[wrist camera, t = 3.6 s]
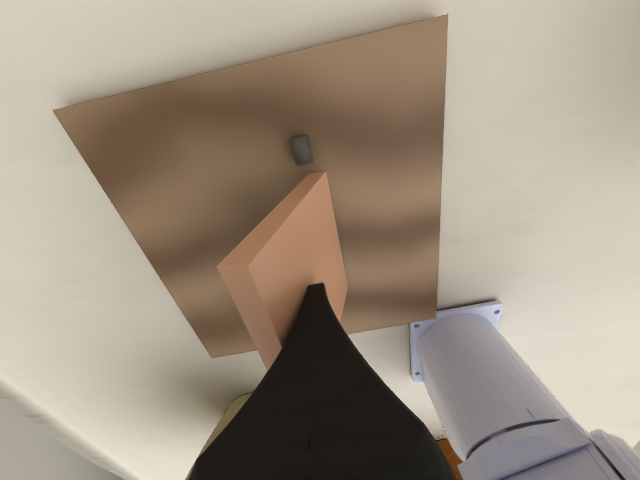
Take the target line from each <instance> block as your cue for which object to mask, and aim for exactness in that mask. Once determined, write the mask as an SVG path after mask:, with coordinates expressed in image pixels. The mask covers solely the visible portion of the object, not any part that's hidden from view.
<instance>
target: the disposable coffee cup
mask: <svg viewBox="0 0 640 480" xmlns="http://www.w3.org/2000/svg"><path fill="white" fill-rule="evenodd" d="M436 442H437V444H438V445H439V447H440V448H441V450H442V452H443V453H444V455H445V457H446V458H447V460H448V462H449V464H450V466H451V468H452V470H453V472H454V474H455V476H456V478H457V480H463V478H462V476H461V473H460V471H459V469H458V465H459V464H461V463H463V461H462V460H461V459H460V458H459V456H458V455H457V454H456V453H455V451H454V450H453V448H452V446H451V444H450V442H449V441H448V439H446V440H440V441H436Z"/></svg>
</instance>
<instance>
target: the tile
mask: <svg viewBox="0 0 640 480" xmlns="http://www.w3.org/2000/svg"><path fill="white" fill-rule="evenodd" d="M216 267H217V269H218V271H219V273H220V275H221V277H222V279H223V281H224V283H225V285H226V287H227V289H228V291H229V293H230V295H231V297H232V299H233V301H234V303H235V305H236V307H237V309H238V311H239V313H240V315H241V317H242V320H243V322H244V324H245V326H246V328H247V330H248V332H249V334H250V336H251V338H252V340H253V342H254V344H255V346H256V348H257V350H258V352H259V354H260V356H261V358H262V360H263V362H264V364H265V366H266V368H267V370H269V369H270V367H271V365H272V364H273V362H274V361H275V359H276V357H277V356H278V354H279V352H280V350H281V349H282V347H283V345H284V343H285V341H286V339H287V337H288V335H289V333H290V331H291V329H292V327H293V325H294V323H295V321H296V318H297V316H298V314H299V311H300V309H301V306H302V304H303V301H304V298H305V295H306V292H307V287H308V286H309V285H312V284H317V283H324V284H325V289H326V293H327V297H328V300H329V303H330V305H331V307H332V309H333V311H334V313H335V315H336V317H337V319H338V321H339V322H340V321H341V316H342V312H343V307H344V303H345V299H346V294H347V290H348V286H347V280H346V275H345V270H344V264H343V259H342V253H341V248H340V243H339V237H338V232H337V227H336V221H335V216H334V211H333V205H332V200H331V194H330V189H329V184H328V178H327V173H326V171H321V172H314V173H309V174H308V175H307V176H306V177H305V178H304V179H303V180H302V181H301V182H300V183H299V184H298V185H297V186H296V187H295V188H294V189H293V190H292V191H291V192H290V193H289V194H288V195H287V196H286V197H285V198H284V199H283V200H282V201H281V202H280V203H279V204H278V205H277V206H276V207H275V208H274V209H273V210H272V211H271V212H270V213H269V214H268V215H267V216H266V217H265V218H264V219H263V220H262V221H261V222H260V223H259V224H258V225H257V226H256V227H255V228H254V229H253V230H252V231H251V232H250V233H249V234H248V235H247V236H246V237H245V238H244V239H243V240H242V241H241V242H240V243H239V244H238V245H237V246H236V247H235V248H234V249H233V250H232V251H231V252H230V253H229V254H228V255H227V256H226V257H225V258H224V259H223V260H222V261H221V262H220V263H219V264H218V265H217V266H216Z"/></svg>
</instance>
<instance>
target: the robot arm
mask: <svg viewBox="0 0 640 480" xmlns="http://www.w3.org/2000/svg"><path fill="white" fill-rule="evenodd" d="M502 311H503V304H502V303H501V302H500V301H492V302H486V303H480V304H475V305H469V306H464V307H458V308H452V309H447V310H441V311H436V319H431V320H425V321H420V322H414V323H410V346H411V375H412V379H413V381H414V382H420V381H423V382H424V384H425V387H426V389H427V391H428V394H429V396H430V398H431V401H432V403H433V405H434V408H435V410H436V412H437V415H438V417H439V419H440V422H441V424H442V427H443V429H444V431H445V434H446V436H447V438H448V441H449V442H450V444H451V446H452V448H453V450H454V451H455V453H456V454H457V455H458V456H459V458H460V459H461V460H462V461H463V463H461V464H459V465H458V469H459V471H460V473H461V476H462V478H463V480H640V455H639V454H637V452H636V451H635V450H634V449H633V448H632V447H631V446H629V445H628V444H627V443H626V442H625V441H624V440H623V439H622V438H620V437H617V436H614V435H612V434H607V433H606V432H604V431H603V430H601V429H596V430H594V431H592V432H590V433H588V432H587V431H586V430H585V429H584V428H582V427H581V426H580V425H579V424H578V423H577V422H576V421H575V420H574V419H573V417H572V416H571V415H570V414H569V413H568V412H567V410H566V409H565V408H564V407H563V406H562V405H561V403H560V402H559V401H558V400H557V399H556V398H555V397H554V395H553V394H552V393H551V392H550V391H549V390H548V388H547V387H546V386H545V385H544V384H543V383H542V381H541V380H540V379H539V378H538V377H537V376H536V374H535V373H534V372H533V371H532V370H531V369H530V367H529V366H528V365H527V364H526V363H525V362H524V360H523V359H522V358H521V357H520V356H519V355H518V354H517V352H516V351H515V350H514V349H513V348H512V347H511V345H510V344H509V343H508V342H507V341H506V340H505V338H504V337H503V336H502V335H501V334H500V333H499V331H498V329H499V325H500V320H501V315H502ZM415 324H416V325H415ZM188 480H457V478H456V476H455V474H454V472H453V470H452V468H451V466H450V464H449V462H448V460H447V458H446V457H445V455H444V453H443V452H442V450H441V448H440V447H439V445H438V444H437V442H436V441H435V439H434V438H433V436H432V435H431V433H430V432H429V430H428V429H427V427H426V426H425V424H424V423H423V422H422V421H421V420H420V419H419V418H418V417H417V416H416V415H415V414H414V413H413V412H412V411H411V410H410V409H409V408H408V407H407V406H406V405H405V404H404V403H403V402H402V401H401V400H400V399H399V398H398V397H397V396H396V395H395V394H394V393H393V392H392V391H391V389H390V388H389V387H388V386H387V385H386V384H385V383H384V382H383V381H382V379H381V378H380V377H379V376H378V375H377V374H376V372H375V371H374V370H373V369H372V368H371V367H370V365H369V364H368V363H367V362H366V360H365V359H364V358H363V356H362V355H361V354H360V353H359V351H358V350H357V348H356V347H355V346H354V344H353V343H352V341H351V340H350V338H349V337H348V335H347V334H346V332H345V331H344V329H343V327H342V326H341V324H340V322H339V321H338V319H337V317H336V315H335V313H334V311H333V309H332V307H331V305H330V303H329V300H328V297H327V293H326V289H325V284H324V283H317V284H312V285H309V286H308V287H307V292H306V295H305V298H304V301H303V304H302V306H301V309H300V311H299V314H298V316H297V318H296V321H295V323H294V325H293V327H292V329H291V331H290V333H289V335H288V337H287V339H286V341H285V343H284V345H283V347H282V349H281V350H280V352H279V354H278V356H277V357H276V359H275V361H274V362H273V364H272V365H271V367H270V369H269V370H268V372H267V373H266V375H265V376H264V378H263V379H262V381H261V382H260V383H259V385H258V386H257V388H256V389H255V390H254V392H253V393H252V394H251V396H250V397H249V398H248V400H247V401H246V402H245V403H244V405H243V406H242V407H241V409H240V410H239V411H238V412H237V414H236V415H235V416H234V417H233V419H232V420H231V421H230V422H229V423H228V425H227V426H226V427H225V428H224V429H223V430H222V432H221V433H220V434H219V435H218V436H217V437H216V438H215V439H214V441H213V442H212V443H211V444H210V445H209V446H208V447H207V448H206V450H205V451H204V452H203V453H202V454H201V455H200V456H199V457H198V458H197V459H196V462H195V465H194V467H193V470H192V472H191V474H190V477H189V479H188Z"/></svg>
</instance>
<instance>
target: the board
mask: <svg viewBox="0 0 640 480" xmlns="http://www.w3.org/2000/svg"><path fill="white" fill-rule="evenodd" d="M447 28H448V14H447V15H442V16H438V17H434V18H430V19H426V20H422V21H418V22H414V23H410V24H405V25H401V26H397V27H393V28H389V29H385V30H381V31H377V32H373V33H368V34H364V35H360V36H356V37H352V38H348V39H344V40H340V41H335V42H331V43H327V44H323V45H319V46H315V47H311V48H307V49H303V50H298V51H294V52H290V53H286V54H282V55H278V56H274V57H270V58H266V59H261V60H257V61H253V62H249V63H245V64H241V65H237V66H233V67H229V68H224V69H220V70H216V71H212V72H208V73H204V74H200V75H196V76H191V77H187V78H183V79H179V80H175V81H171V82H167V83H163V84H159V85H154V86H150V87H146V88H142V89H138V90H134V91H130V92H126V93H122V94H117V95H113V96H109V97H105V98H101V99H97V100H93V101H89V102H85V103H80V104H76V105H72V106H68V107H64V108H60V109H56V110H53V112H54V114H55V115H56V117H57V118H58V120H59V121H60V123H61V124H62V126H63V128H64V129H65V131H66V132H67V134H68V135H69V137H70V138H71V140H72V142H73V143H74V145H75V146H76V148H77V149H78V151H79V152H80V154H81V156H82V157H83V159H84V160H85V162H86V163H87V165H88V166H89V168H90V170H91V171H92V173H93V174H94V176H95V177H96V179H97V180H98V182H99V184H100V185H101V187H102V188H103V190H104V191H105V193H106V194H107V196H108V198H109V199H110V201H111V202H112V204H113V205H114V207H115V208H116V210H117V212H118V213H119V215H120V216H121V218H122V219H123V221H124V222H125V224H126V226H127V227H128V229H129V230H130V232H131V233H132V235H133V236H134V238H135V240H136V241H137V243H138V244H139V246H140V247H141V249H142V250H143V252H144V253H145V255H146V257H147V258H148V260H149V261H150V263H151V264H152V266H153V267H154V269H155V271H156V272H157V274H158V275H159V277H160V278H161V280H162V281H163V283H164V285H165V286H166V288H167V289H168V291H169V292H170V294H171V295H172V297H173V299H174V300H175V302H176V303H177V305H178V306H179V308H180V309H181V311H182V313H183V314H184V316H185V317H186V319H187V320H188V322H189V323H190V325H191V327H192V328H193V330H194V331H195V333H196V334H197V336H198V337H199V339H200V341H201V342H202V344H203V345H204V347H205V348H206V350H207V351H208V353H209V355H210V356H211V358H216V357H221V356H227V355H233V354H238V353H244V352H250V351H255V350H257V348H256V346H255V344H254V342H253V340H252V338H251V336H250V334H249V332H248V330H247V328H246V326H245V324H244V322H243V320H242V317H241V315H240V313H239V311H238V309H237V307H236V305H235V303H234V301H233V299H232V297H231V295H230V293H229V291H228V289H227V287H226V285H225V283H224V281H223V279H222V277H221V275H220V273H219V271H218V269H217V267H216V266H217V265H218V264H219V263H220V262H221V261H222V260H223V259H224V258H225V257H226V256H227V255H228V254H229V253H230V252H231V251H232V250H233V249H234V248H235V247H236V246H237V245H238V244H239V243H240V242H241V241H242V240H243V239H244V238H245V237H246V236H247V235H248V234H249V233H250V232H251V231H252V230H253V229H254V228H255V227H256V226H257V225H258V224H259V223H260V222H261V221H262V220H263V219H264V218H265V217H266V216H267V215H268V214H269V213H270V212H271V211H272V210H273V209H274V208H275V207H276V206H277V205H278V204H279V203H280V202H281V201H282V200H283V199H284V198H285V197H286V196H287V195H288V194H289V193H290V192H291V191H292V190H293V189H294V188H295V187H296V186H297V185H298V184H299V183H300V182H301V181H302V180H303V179H304V178H305V177H306V176H307V175H308V174H309V173H314V172H321V171H326V173H327V178H328V184H329V189H330V194H331V200H332V205H333V211H334V216H335V221H336V227H337V232H338V237H339V243H340V248H341V253H342V259H343V264H344V270H345V275H346V280H347V286H348V290H347V294H346V299H345V303H344V307H343V312H342V316H341V321H340V324H341V326H342V327H343V329H344V331H345V332H346V334H352V333H357V332H363V331H369V330H374V329H380V328H386V327H391V326H397V325H403V324H408V323H414V322H420V321H425V320H431V319H436V311H437V285H438V260H439V234H440V208H441V182H442V157H443V131H444V105H445V79H446V54H447Z"/></svg>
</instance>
